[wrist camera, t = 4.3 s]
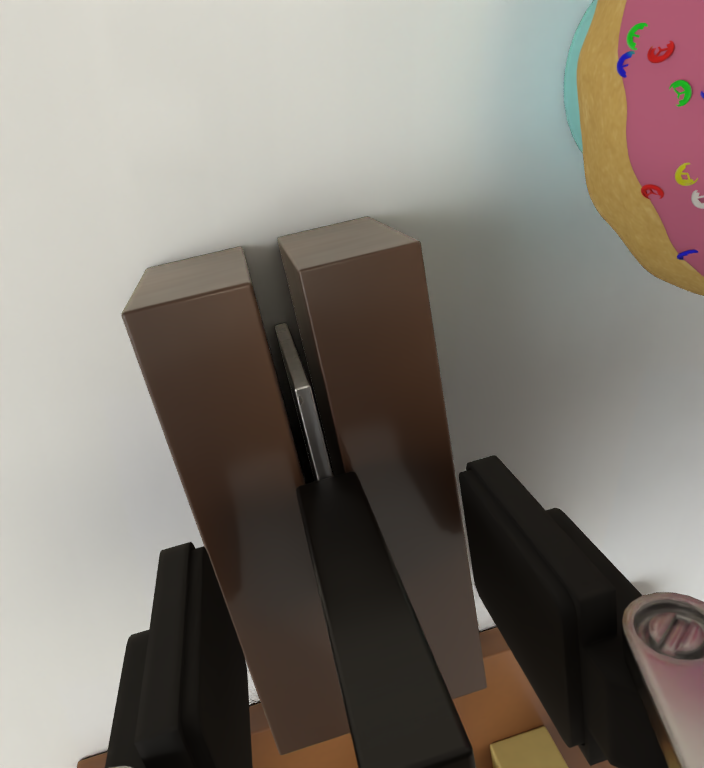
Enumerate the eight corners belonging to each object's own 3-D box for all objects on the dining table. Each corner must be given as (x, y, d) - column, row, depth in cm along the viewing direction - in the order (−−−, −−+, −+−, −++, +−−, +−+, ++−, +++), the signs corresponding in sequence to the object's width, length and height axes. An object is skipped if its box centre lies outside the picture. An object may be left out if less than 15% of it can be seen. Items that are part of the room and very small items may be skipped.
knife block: (368, 215, 14) (421, 240, 11) (435, 582, 19) (488, 688, 15) (145, 268, 14) (119, 313, 10) (266, 633, 18) (280, 757, 14)
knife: (304, 317, 15) (451, 609, 6) (358, 548, 18) (517, 1000, 8) (255, 330, 15) (322, 650, 5) (318, 559, 18) (434, 1033, 8)
